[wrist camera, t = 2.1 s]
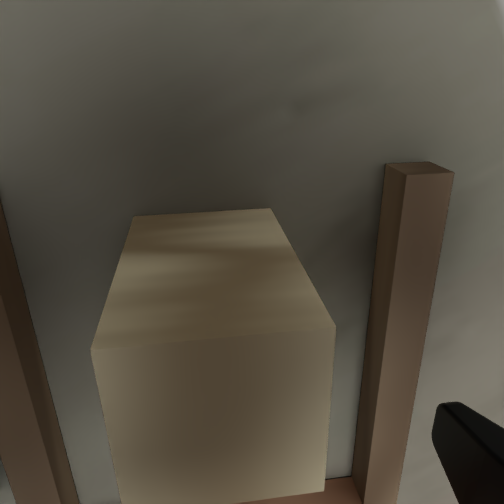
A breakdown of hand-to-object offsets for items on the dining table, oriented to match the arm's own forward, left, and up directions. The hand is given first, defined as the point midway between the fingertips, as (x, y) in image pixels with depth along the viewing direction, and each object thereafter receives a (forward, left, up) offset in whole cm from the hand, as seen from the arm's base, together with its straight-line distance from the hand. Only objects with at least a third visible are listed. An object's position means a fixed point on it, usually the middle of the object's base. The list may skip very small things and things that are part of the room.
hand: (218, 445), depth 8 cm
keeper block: (0, 0, -7) cm, 7 cm away
